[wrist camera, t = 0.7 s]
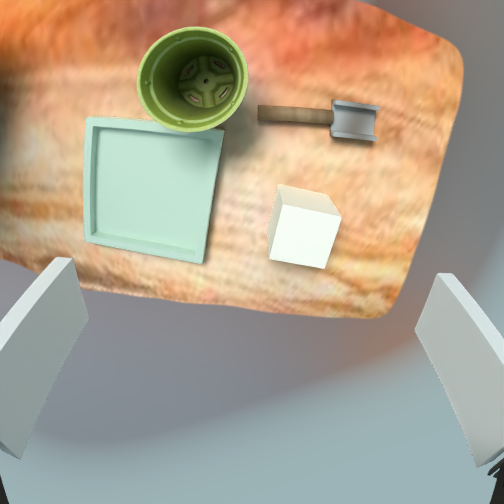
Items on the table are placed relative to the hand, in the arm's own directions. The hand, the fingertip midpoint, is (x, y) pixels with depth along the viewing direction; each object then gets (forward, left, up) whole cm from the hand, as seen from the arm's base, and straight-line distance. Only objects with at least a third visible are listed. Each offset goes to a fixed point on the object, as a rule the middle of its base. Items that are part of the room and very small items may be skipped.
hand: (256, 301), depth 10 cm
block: (+6, -6, -27) cm, 28 cm away
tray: (-12, -6, -27) cm, 30 cm away
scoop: (+6, +6, -26) cm, 28 cm away
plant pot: (-7, +7, -27) cm, 28 cm away
